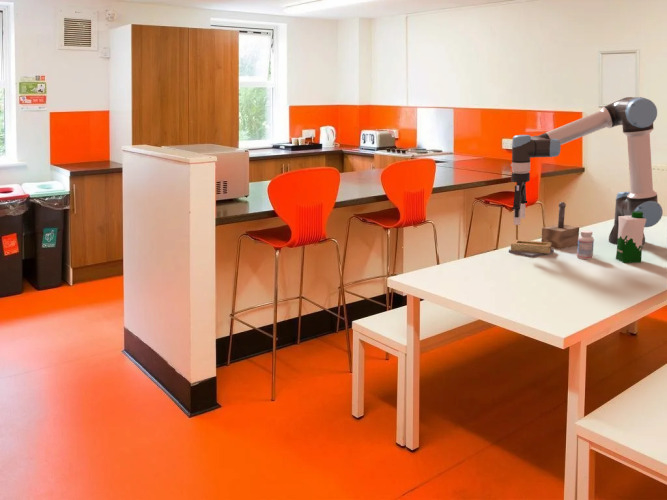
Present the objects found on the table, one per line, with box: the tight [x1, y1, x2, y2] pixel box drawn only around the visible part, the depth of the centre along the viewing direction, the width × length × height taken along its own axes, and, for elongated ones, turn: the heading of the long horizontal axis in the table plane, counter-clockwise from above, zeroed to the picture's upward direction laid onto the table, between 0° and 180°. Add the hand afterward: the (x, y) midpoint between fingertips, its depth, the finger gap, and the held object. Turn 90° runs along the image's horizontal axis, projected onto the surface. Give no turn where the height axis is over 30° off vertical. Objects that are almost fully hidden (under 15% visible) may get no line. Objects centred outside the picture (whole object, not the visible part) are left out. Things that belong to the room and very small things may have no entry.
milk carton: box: [615, 211, 646, 264], centre depth 270 cm, size 9×9×20 cm
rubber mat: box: [508, 248, 555, 259], centre depth 289 cm, size 12×15×1 cm
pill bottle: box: [576, 229, 595, 260], centre depth 277 cm, size 6×6×11 cm
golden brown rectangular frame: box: [510, 239, 553, 254], centre depth 288 cm, size 8×16×3 cm, turn 66°
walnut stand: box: [540, 201, 580, 250], centre depth 298 cm, size 10×13×20 cm
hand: (519, 221), depth 288 cm, fingers open, 13 cm apart
